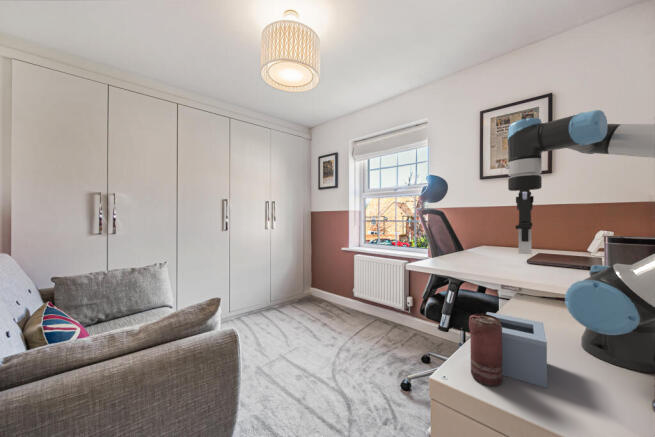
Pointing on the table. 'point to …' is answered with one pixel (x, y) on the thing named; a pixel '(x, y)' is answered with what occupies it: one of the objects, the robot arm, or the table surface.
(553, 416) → the table surface
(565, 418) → the table surface
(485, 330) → the can
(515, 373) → the coin box
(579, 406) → the table surface
